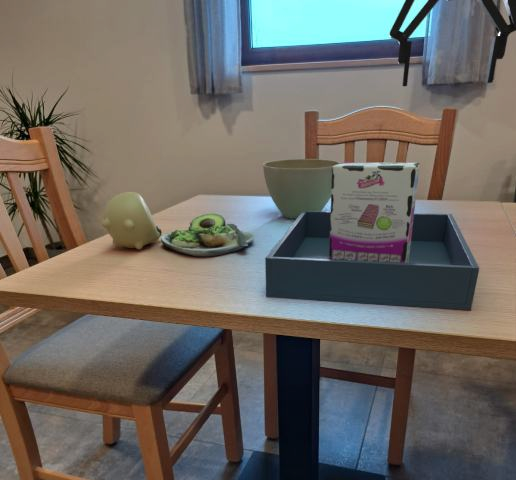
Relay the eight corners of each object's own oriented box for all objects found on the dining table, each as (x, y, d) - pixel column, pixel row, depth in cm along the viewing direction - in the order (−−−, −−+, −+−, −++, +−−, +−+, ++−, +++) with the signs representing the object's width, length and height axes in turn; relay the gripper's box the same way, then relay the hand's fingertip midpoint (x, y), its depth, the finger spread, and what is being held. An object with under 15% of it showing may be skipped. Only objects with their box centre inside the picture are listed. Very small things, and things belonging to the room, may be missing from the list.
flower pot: (254, 222, 109) (252, 167, 103) (276, 207, 124) (275, 158, 118) (330, 225, 103) (332, 168, 98) (343, 209, 119) (346, 158, 113)
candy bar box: (407, 277, 70) (422, 161, 62) (402, 288, 66) (417, 166, 58) (335, 270, 74) (340, 160, 66) (326, 280, 70) (331, 164, 62)
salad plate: (280, 246, 90) (279, 222, 87) (200, 266, 80) (198, 240, 78) (225, 229, 103) (223, 208, 101) (152, 244, 94) (149, 221, 92)
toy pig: (159, 265, 93) (175, 221, 97) (131, 230, 82) (150, 182, 86) (118, 259, 96) (135, 217, 99) (85, 226, 85) (106, 179, 89)
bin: (446, 245, 87) (451, 213, 85) (471, 310, 60) (479, 268, 58) (302, 239, 94) (303, 210, 91) (266, 296, 67) (265, 257, 64)
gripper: (382, -75, 69) (370, 87, 79) (569, -98, 63) (531, 80, 73) (383, -61, 76) (372, 87, 85) (553, -80, 70) (520, 82, 80)
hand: (445, 84), depth 79 cm, fingers open, 13 cm apart
